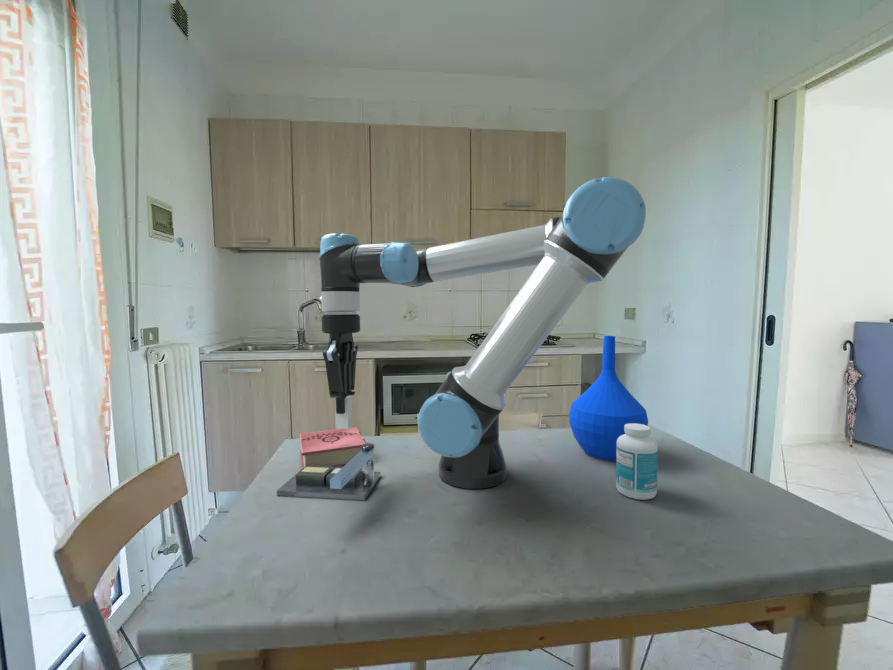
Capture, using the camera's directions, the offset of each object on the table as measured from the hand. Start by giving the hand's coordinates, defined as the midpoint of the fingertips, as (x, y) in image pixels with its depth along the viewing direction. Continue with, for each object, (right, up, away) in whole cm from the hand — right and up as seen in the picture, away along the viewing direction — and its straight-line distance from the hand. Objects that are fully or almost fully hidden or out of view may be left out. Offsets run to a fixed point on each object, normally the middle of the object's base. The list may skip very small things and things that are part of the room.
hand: (343, 427), depth 82 cm
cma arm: (+4, -6, -7) cm, 10 cm away
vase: (+62, -11, +18) cm, 65 cm away
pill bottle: (+59, -13, -2) cm, 61 cm away
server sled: (-3, -12, +1) cm, 13 cm away
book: (-7, -12, +17) cm, 22 cm away
